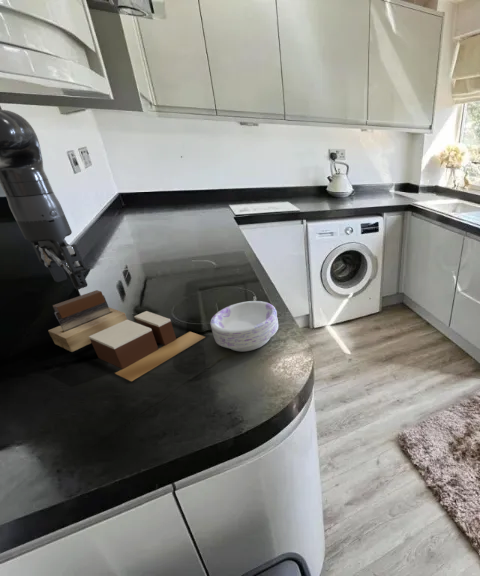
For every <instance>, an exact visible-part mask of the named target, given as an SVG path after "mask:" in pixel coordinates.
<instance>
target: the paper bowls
mask: <svg viewBox="0 0 480 576" xmlns="http://www.w3.org/2000/svg"><path fill="white" fill-rule="evenodd" d="M277 312H278V311H277V309H276V307H275V306H274V305H273V304H271V303H269V302H267V301H261V300H249V301H242V302H241V301H240V302H237V303H233V304H230V305H228V306H226V307H223V308H222V309H220V310H219V311H217V312H216V313H215V314H214V315H213V316H212V317H211V319H210V322H209V324H210V327H211V332H212V337H213V338H214V341H215V344H217V345H218V346H221V347H223V348H226V349H231V350H232V351H234V352H235V351H236V352H250V351H254V350H256V349H257V350H258V349H259V348H261V347H264V345H266V344H267V343H268V342H269V340H270V339H271V338H272V337H274V335H275V334H276V333H277V332H278V330H279V320H278V313H277Z"/></svg>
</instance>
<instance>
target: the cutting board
mask: <svg viewBox="0 0 480 576" xmlns="http://www.w3.org/2000/svg"><path fill="white" fill-rule="evenodd" d="M205 338H206V336H204V335H202V334H198V333H195V332H192V331H188V332H186V333H184V334H182V335H180V336H179V337H176V340H175V341H173V342H171V343H169V344H167V345H166V346H165V345H163V346H161V347H158V350H157V351H155V352H153V353H151V354H149V355H148V356H146V357H144V358H142V359H140V360H139V361H137V362H135V363H133V364H131V365H130V366H128V367H126V368H124V369H121V368H120V369H119V370H118V371H116V372H114V375H117V376H119V377H121V378H123V379H125V380H127V381H129V382H133V381H135V380H137V379H138V378H140V377H142V376H143V375H145V374H147V373H148V372H150V371H152V370H153V369H155V368H157V367H158V366H160V365H161V364H163V363H165V362H166V361H169V360H170V359H172V358H173V357H175V356H176V355H179V354H180V353H181V352H182V353H183V352H184V351H185V350H186V349H188V348H190V347H191V346H194V345H195V344H197V343H199V342H200V341H201V340H203V339H205Z"/></svg>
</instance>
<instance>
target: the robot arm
mask: <svg viewBox="0 0 480 576" xmlns="http://www.w3.org/2000/svg"><path fill="white" fill-rule="evenodd" d="M42 155H43V154H42V150H41V146H40V141H39V138H38V135H37V133H36V132H35V129H34V128H33V126H32V125H31V124H30V122H29V121H28V120H27V119H26V118H24V116H22V115H20V114H19V113H17V112H15V111H11V110H8V109H7V110H6V109H1V108H0V187H1V189H2V191H3V194H4V195H5V197H6V200H7V203H8V207H9V209H10V212H11V213H12V215H13V218H14V219H15V221H16V224H17V225H18V228H19V229H20V231H21V234H22V236H23V238H24V240H26V241H28V242H30V243H31V246H32V247H33V251H34V252H35V254H36V257H37V259H38V260H39V261H38V262H39V263H40V264H44V266H45V267H46V268H48V270H49V272H50V275H51V277H52V279H53V281H54V282H56V283H60V282H64V281H67V280H68V276H69V279H70V281H71V283H72V285H73V288H74V289H76V290H81V289H84V288H86V287H88V283H87V280H86V277H85V276H84V273H83V272H84V271H87V270H88V268H87V265H86V263H85V261H84V259H83V257H82V254H81V253H80V251H79V248H78V246H77V245H76V244H75V243H74V244H69V243H68V242H67V240H66V237H69V236H71V235H72V233H73V231H72V228H71V226H70V224H69V221H68V219H67V217H66V215H65V212H64V210H63V207H62V205H61V203H60V201H59V199H58V197H57V196H56V193H55V192H54V190H53V188H52V185H51V183H50V180H49V178H48V176H47V174H46V171H45V169H44V160H43V156H42ZM66 273H67V274H68V276H67V274H66Z"/></svg>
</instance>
